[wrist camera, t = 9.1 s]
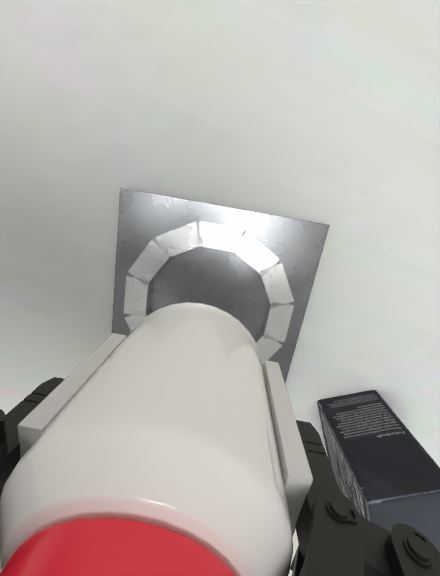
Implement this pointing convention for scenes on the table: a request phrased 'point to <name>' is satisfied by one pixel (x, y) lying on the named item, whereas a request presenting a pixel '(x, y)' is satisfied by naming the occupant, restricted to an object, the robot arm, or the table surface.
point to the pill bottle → (156, 463)
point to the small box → (381, 464)
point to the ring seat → (216, 266)
